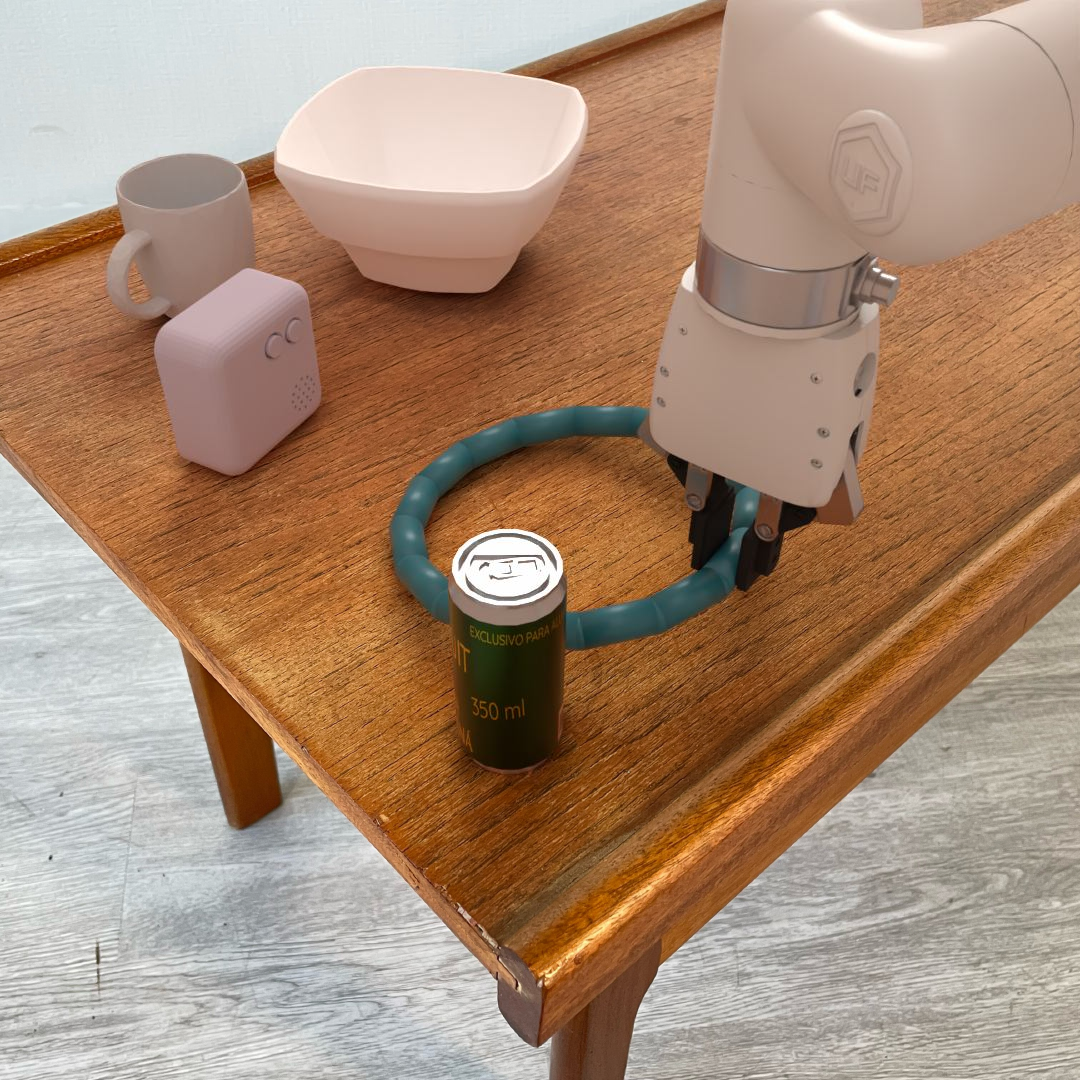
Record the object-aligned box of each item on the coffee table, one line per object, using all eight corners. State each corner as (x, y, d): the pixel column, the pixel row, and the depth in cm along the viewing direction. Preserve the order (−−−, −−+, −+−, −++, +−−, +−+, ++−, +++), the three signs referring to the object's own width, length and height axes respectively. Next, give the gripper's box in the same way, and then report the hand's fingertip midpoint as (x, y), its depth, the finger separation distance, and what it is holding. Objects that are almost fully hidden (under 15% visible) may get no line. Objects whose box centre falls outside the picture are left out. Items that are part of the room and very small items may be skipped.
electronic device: (239, 490, 76) (212, 356, 69) (182, 468, 77) (149, 334, 71) (333, 408, 82) (316, 278, 75) (278, 388, 84) (256, 260, 77)
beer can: (553, 690, 64) (557, 520, 56) (571, 772, 60) (578, 602, 52) (451, 702, 63) (441, 531, 55) (463, 785, 59) (453, 615, 51)
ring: (831, 476, 72) (832, 448, 71) (645, 711, 59) (643, 682, 58) (532, 397, 84) (528, 372, 82) (318, 581, 70) (310, 554, 69)
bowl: (548, 356, 87) (550, 208, 79) (259, 318, 91) (234, 172, 83) (603, 215, 103) (610, 80, 95) (357, 187, 107) (343, 54, 99)
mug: (199, 262, 97) (175, 142, 90) (289, 292, 93) (270, 169, 87) (83, 338, 88) (46, 212, 82) (177, 373, 85) (147, 245, 78)
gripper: (985, 284, 52) (894, 585, 65) (666, 185, 59) (640, 476, 71) (921, 365, 48) (837, 672, 60) (583, 248, 54) (570, 547, 67)
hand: (730, 564), depth 66 cm, fingers closed on ring, 2 cm apart
